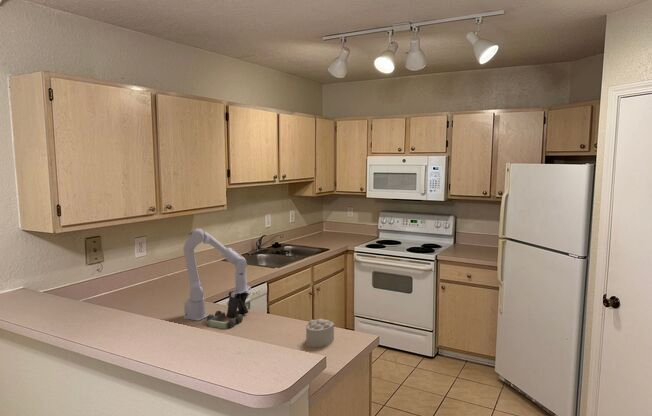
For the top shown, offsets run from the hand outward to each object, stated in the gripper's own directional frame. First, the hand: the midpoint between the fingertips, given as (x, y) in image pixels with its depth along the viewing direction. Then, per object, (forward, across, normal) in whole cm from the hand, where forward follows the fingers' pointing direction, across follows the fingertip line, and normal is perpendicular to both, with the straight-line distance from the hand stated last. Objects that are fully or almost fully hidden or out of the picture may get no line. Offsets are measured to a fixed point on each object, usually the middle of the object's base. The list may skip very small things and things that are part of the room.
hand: (241, 307), depth 220 cm
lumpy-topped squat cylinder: (+4, -15, -50) cm, 52 cm away
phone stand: (+3, -3, 0) cm, 4 cm away
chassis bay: (+3, -13, 0) cm, 13 cm away
